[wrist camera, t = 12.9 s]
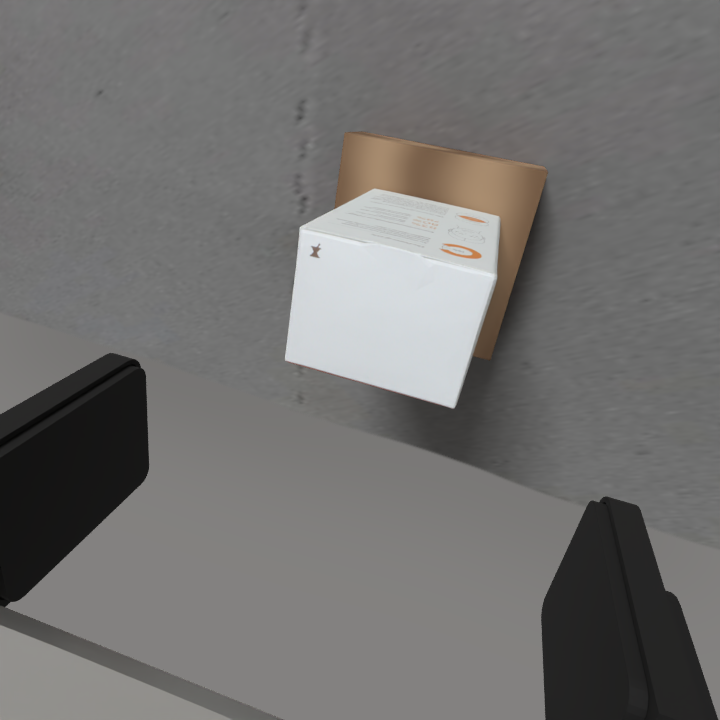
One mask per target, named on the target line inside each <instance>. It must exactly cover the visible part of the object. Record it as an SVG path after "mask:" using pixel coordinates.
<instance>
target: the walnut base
mask: <svg viewBox="0 0 720 720" xmlns="http://www.w3.org/2000/svg"><path fill="white" fill-rule="evenodd" d="M547 174H548V171H547V170H546V169H545V167H543V166H538V165H533V164H527V163H522V162H517V161H512V160H507V159H502V158H496V157H491V156H486V155H481V154H476V153H470V152H465V151H460V150H455V149H450V148H445V147H439V146H434V145H429V144H424V143H419V142H414V141H408V140H403V139H398V138H393V137H388V136H382V135H377V134H372V133H367V132H362V131H361V132H346V133H345V135H344V142H343V149H342V157H341V164H340V171H339V179H338V186H337V193H336V201H335V208H334V209H336V208H338V207H340V206H342V205H344V204H346V203H347V202H349V201H351V200H353V199H355V198H357V197H359V196H361V195H363V194H365V193H367V192H368V191H370V190H372V189H380V190H385V191H390V192H395V193H399V194H404V195H408V196H413V197H417V198H422V199H426V200H431V201H435V202H440V203H445V204H449V205H453V206H458V207H462V208H467V209H471V210H475V211H479V212H484V213H488V214H492V215H496V216H499V217H500V237H499V250H498V264H497V282H496V285H495V288H494V291H493V294H492V298H491V301H490V304H489V307H488V310H487V313H486V316H485V319H484V322H483V325H482V328H481V331H480V334H479V337H478V341H477V344H476V347H475V350H474V353H473V356H474V357H478V358H482V359H486V360H491V356H492V353H493V350H494V346H495V343H496V340H497V337H498V333H499V330H500V327H501V324H502V320H503V317H504V314H505V311H506V307H507V304H508V301H509V298H510V294H511V291H512V288H513V285H514V281H515V278H516V275H517V272H518V268H519V265H520V262H521V259H522V255H523V252H524V249H525V246H526V242H527V239H528V236H529V233H530V229H531V226H532V223H533V220H534V216H535V213H536V210H537V206H538V203H539V200H540V197H541V193H542V190H543V187H544V184H545V180H546V177H547Z"/></svg>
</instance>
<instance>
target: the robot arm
mask: <svg viewBox="0 0 720 720" xmlns="http://www.w3.org/2000/svg"><path fill="white" fill-rule="evenodd" d="M147 426H148V425H147V395H146V375H145V371H144V370H143V369H142V368H141V366H140V364H139V362H138V361H137V360H135V359H131V358H128V357H124V356H121V355H118V354H114V353H109V354H107V355H105V356H103V357H101V358H99V359H98V360H96V361H94V362H93V363H90V364H89V365H87V366H85V367H83V368H82V369H80V370H78V371H76V372H75V373H73V374H71V375H69V376H68V377H66V378H64V379H62V380H60V381H59V382H57V383H55V384H53V385H52V386H50V387H48V388H46V389H45V390H43V391H41V392H39V393H38V394H36V395H34V396H32V397H30V398H29V399H27V400H25V401H23V402H22V403H20V404H18V405H16V406H15V407H13V408H11V409H9V410H7V411H6V412H4V413H2V414H0V720H283V719H281V718H279V717H276V716H273V715H271V714H269V713H266V712H264V711H261V710H259V709H256V708H254V707H252V706H249V705H246V704H244V703H242V702H239V701H237V700H234V699H232V698H229V697H227V696H224V695H222V694H219V693H217V692H215V691H212V690H210V689H207V688H205V687H202V686H200V685H197V684H195V683H192V682H190V681H187V680H185V679H182V678H180V677H178V676H175V675H173V674H170V673H168V672H165V671H163V670H160V669H158V668H155V667H153V666H150V665H148V664H145V663H143V662H140V661H138V660H135V659H133V658H130V657H128V656H125V655H123V654H120V653H118V652H116V651H113V650H111V649H108V648H106V647H103V646H101V645H98V644H96V643H93V642H91V641H88V640H86V639H83V638H80V637H78V636H76V635H73V634H70V633H68V632H65V631H63V630H61V629H58V628H55V627H53V626H50V625H48V624H45V623H43V622H40V621H38V620H35V619H33V618H30V617H28V616H25V615H23V614H20V613H18V612H15V611H13V610H10V609H8V608H5V607H6V606H7V605H8V604H9V603H10V602H15V601H18V600H20V599H21V598H22V597H24V596H25V595H26V594H27V593H28V592H29V591H30V590H31V589H32V588H33V587H34V586H35V585H36V584H37V583H38V582H39V581H40V580H42V579H43V578H44V577H45V576H46V575H47V574H48V573H49V572H50V571H51V570H52V569H53V568H54V567H55V566H56V565H57V564H58V563H59V562H60V561H61V560H62V559H63V558H64V557H66V556H67V555H68V554H69V553H70V552H71V551H72V550H73V549H74V548H75V547H76V546H77V545H78V544H79V543H80V542H81V541H82V540H83V539H84V538H85V537H86V536H87V535H89V534H90V533H91V532H92V531H93V530H94V529H95V528H96V527H97V526H98V525H99V524H100V523H101V522H102V521H103V520H104V519H105V518H106V517H107V516H108V515H109V514H110V513H111V512H112V511H113V510H115V509H116V508H117V507H118V506H119V505H120V504H121V503H122V502H123V501H124V500H125V499H126V498H127V497H128V496H129V495H130V494H131V493H132V492H133V491H134V490H135V489H136V488H137V487H138V486H140V485H141V483H142V482H143V481H144V480H145V478H146V476H147V474H148V470H149V453H148V427H147ZM541 615H542V616H541V618H542V619H541V621H542V645H543V669H544V692H545V715H546V716H545V717H546V720H718V718H717V715H716V712H715V709H714V706H713V703H712V700H711V697H710V693H709V690H708V687H707V684H706V681H705V679H704V675H703V672H702V669H701V666H700V663H699V660H698V657H697V654H696V651H695V648H694V645H693V642H692V639H691V636H690V633H689V630H688V627H687V624H686V621H685V618H684V615H683V612H682V608H681V605H680V603H679V601H678V599H677V597H676V596H675V595H674V594H672V593H671V592H668V591H665V588H664V585H663V582H662V579H661V576H660V572H659V569H658V566H657V562H656V559H655V556H654V552H653V549H652V546H651V543H650V539H649V537H648V533H647V530H646V526H645V523H644V520H643V517H642V513H641V510H640V508H639V507H638V506H637V505H634V504H631V503H627V502H624V501H620V500H617V499H613V498H610V497H603V498H602V499H601V500H600V502H596V501H590V502H589V504H588V506H587V507H586V510H585V512H584V514H583V516H582V518H581V521H580V523H579V525H578V527H577V529H576V531H575V534H574V536H573V538H572V540H571V543H570V544H569V547H568V549H567V551H566V553H565V555H564V558H563V560H562V562H561V564H560V566H559V568H558V570H557V573H556V575H555V577H554V579H553V581H552V584H551V586H550V588H549V590H548V592H547V594H546V597H545V599H544V602H543V607H542V614H541Z"/></svg>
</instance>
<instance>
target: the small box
mask: <svg viewBox="0 0 720 720" xmlns="http://www.w3.org/2000/svg"><path fill="white" fill-rule="evenodd" d="M499 237H500V217H499V216H496V215H492V214H488V213H484V212H479V211H475V210H471V209H467V208H462V207H458V206H453V205H449V204H445V203H440V202H435V201H431V200H426V199H422V198H417V197H413V196H408V195H404V194H399V193H395V192H390V191H385V190H380V189H372V190H370V191H368V192H367V193H365V194H363V195H361V196H359V197H357V198H355V199H353V200H351V201H349V202H347V203H346V204H344V205H342V206H340V207H338V208H336V209H334V210H332V211H330V212H328V213H326V214H324V215H322V216H320V217H318V218H316V219H314V220H312V221H311V222H309V223H307V224H305V225H303V226H301V227H300V231H299V242H298V252H297V262H296V272H295V280H294V288H293V297H292V305H291V314H290V323H289V330H288V338H287V348H286V355H285V361H287V362H289V363H293V364H296V365H300V366H303V367H307V368H310V369H314V370H318V371H321V372H325V373H328V374H332V375H335V376H339V377H342V378H346V379H349V380H353V381H357V382H360V383H363V384H367V385H370V386H374V387H378V388H381V389H384V390H388V391H392V392H395V393H399V394H402V395H406V396H409V397H413V398H417V399H420V400H424V401H427V402H430V403H434V404H438V405H441V406H445V407H448V408H451V409H454V408H455V407H456V405H457V402H458V399H459V396H460V393H461V390H462V387H463V384H464V381H465V377H466V374H467V371H468V368H469V365H470V362H471V359H472V356H473V353H474V350H475V347H476V344H477V341H478V337H479V334H480V331H481V328H482V325H483V322H484V319H485V316H486V313H487V310H488V307H489V304H490V301H491V298H492V294H493V291H494V288H495V285H496V282H497V264H498V250H499Z"/></svg>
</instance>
